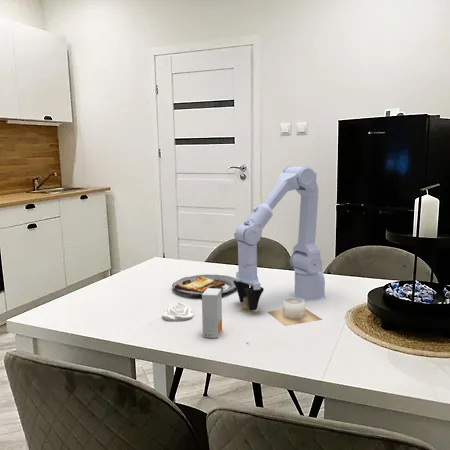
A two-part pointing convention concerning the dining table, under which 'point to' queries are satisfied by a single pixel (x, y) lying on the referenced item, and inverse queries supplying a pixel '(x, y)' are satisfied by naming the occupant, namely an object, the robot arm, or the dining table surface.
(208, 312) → the skincare box
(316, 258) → the robot arm
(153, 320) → the dining table surface
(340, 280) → the dining table surface
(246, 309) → the lid
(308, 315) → the square wooden coaster
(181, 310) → the rose
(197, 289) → the food plate
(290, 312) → the jar
